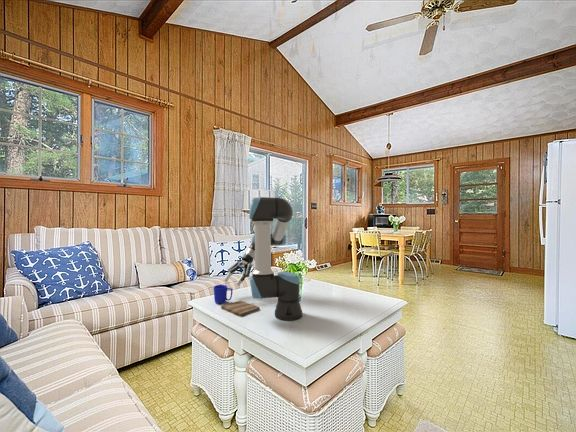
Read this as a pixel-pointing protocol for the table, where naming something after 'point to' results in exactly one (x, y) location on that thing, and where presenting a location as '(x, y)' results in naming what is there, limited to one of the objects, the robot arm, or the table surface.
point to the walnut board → (240, 308)
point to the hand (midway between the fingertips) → (231, 283)
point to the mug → (221, 294)
